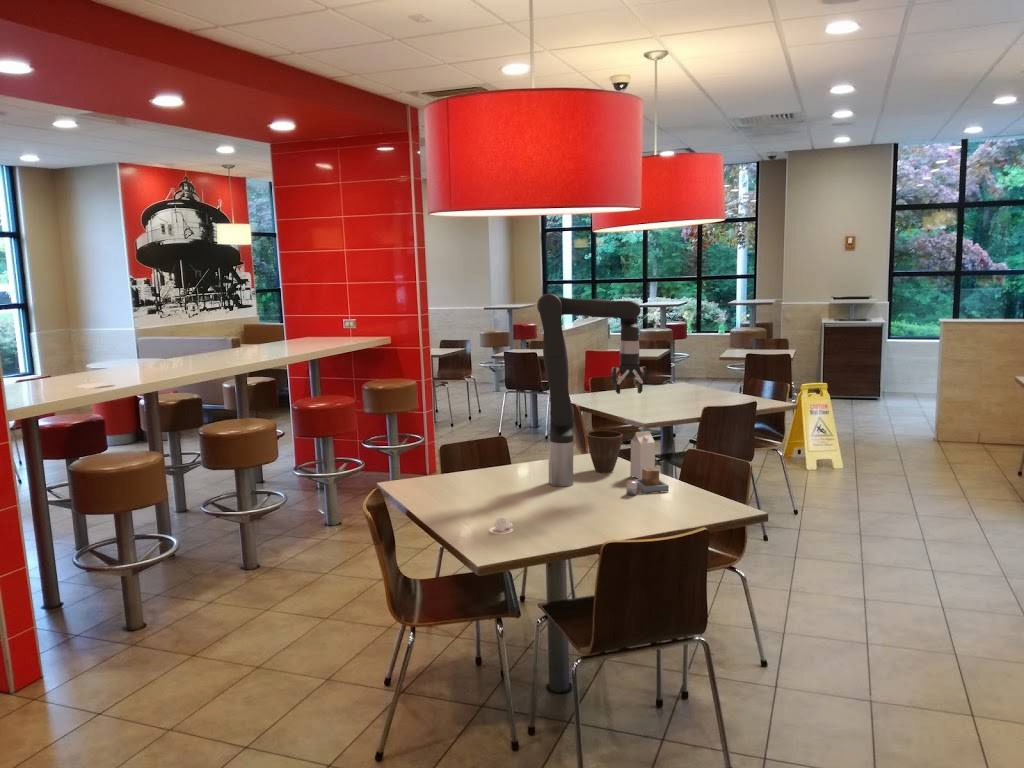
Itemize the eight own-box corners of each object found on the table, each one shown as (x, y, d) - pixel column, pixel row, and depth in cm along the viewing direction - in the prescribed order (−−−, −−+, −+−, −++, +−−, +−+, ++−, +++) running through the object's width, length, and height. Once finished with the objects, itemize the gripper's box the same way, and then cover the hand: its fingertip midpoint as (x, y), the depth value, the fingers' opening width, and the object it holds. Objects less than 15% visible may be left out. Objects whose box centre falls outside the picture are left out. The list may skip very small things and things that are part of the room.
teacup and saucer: (508, 526, 272) (508, 514, 272) (520, 532, 265) (520, 520, 265) (484, 529, 268) (484, 517, 268) (495, 536, 261) (495, 524, 261)
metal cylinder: (628, 496, 308) (628, 483, 308) (624, 493, 312) (625, 480, 311) (638, 495, 309) (638, 482, 308) (635, 493, 313) (635, 480, 312)
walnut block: (646, 489, 316) (646, 471, 315) (641, 485, 321) (642, 468, 320) (658, 488, 317) (659, 470, 316) (654, 485, 322) (654, 467, 321)
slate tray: (643, 493, 312) (643, 486, 312) (633, 485, 324) (633, 479, 324) (668, 491, 314) (668, 485, 314) (657, 484, 326) (657, 478, 326)
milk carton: (630, 476, 339) (630, 431, 337) (644, 474, 342) (645, 429, 340) (639, 480, 333) (640, 434, 330) (654, 478, 336) (655, 432, 333)
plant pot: (619, 476, 340) (620, 437, 338) (584, 474, 343) (584, 436, 341) (623, 468, 354) (624, 431, 352) (589, 466, 358) (589, 430, 356)
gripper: (614, 353, 316) (614, 395, 318) (650, 352, 319) (649, 394, 321) (609, 351, 324) (608, 392, 326) (643, 351, 326) (643, 391, 328)
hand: (628, 393), depth 323 cm, fingers open, 8 cm apart
